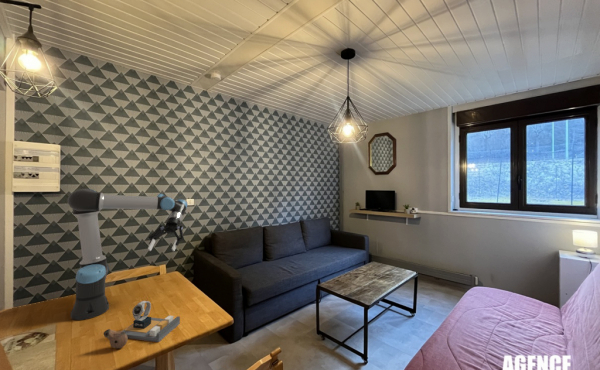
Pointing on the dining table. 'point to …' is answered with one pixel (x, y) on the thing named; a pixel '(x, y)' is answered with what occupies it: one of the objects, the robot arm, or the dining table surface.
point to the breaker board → (145, 335)
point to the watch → (141, 320)
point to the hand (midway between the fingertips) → (161, 250)
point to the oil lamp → (116, 338)
